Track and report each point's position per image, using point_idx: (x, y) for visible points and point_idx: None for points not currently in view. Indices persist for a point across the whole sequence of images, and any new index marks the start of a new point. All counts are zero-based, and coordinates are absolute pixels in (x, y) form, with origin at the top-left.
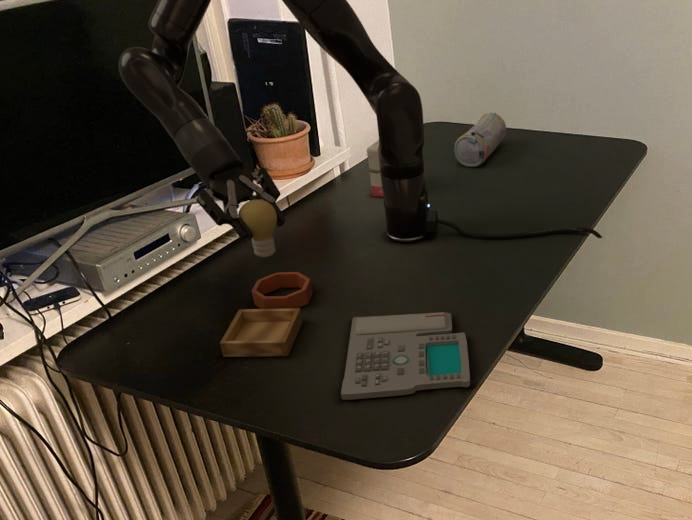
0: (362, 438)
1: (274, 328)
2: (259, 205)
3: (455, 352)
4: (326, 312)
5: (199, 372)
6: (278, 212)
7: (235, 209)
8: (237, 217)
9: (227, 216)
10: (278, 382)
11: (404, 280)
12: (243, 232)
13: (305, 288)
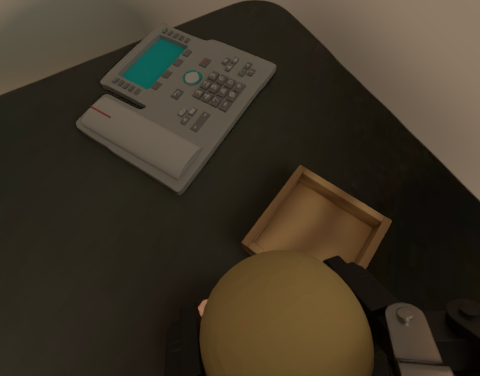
0: (282, 28)
1: (290, 247)
2: (280, 287)
3: (133, 70)
4: (196, 251)
5: (418, 212)
6: (185, 334)
7: (400, 345)
8: (384, 322)
9: (439, 325)
10: (324, 134)
11: (32, 265)
12: (358, 269)
13: (200, 305)
